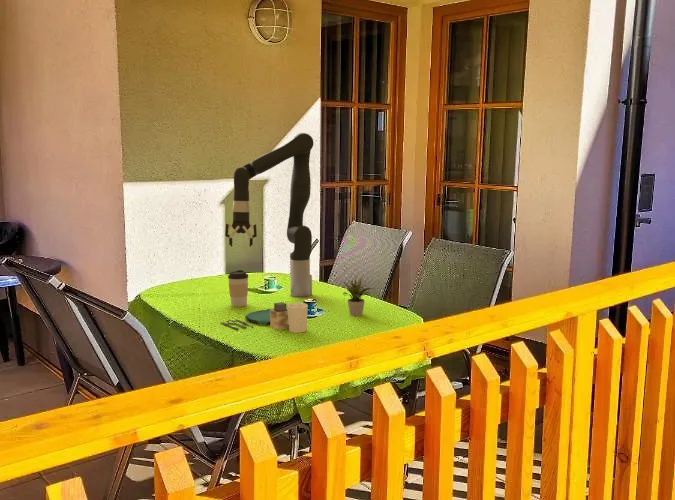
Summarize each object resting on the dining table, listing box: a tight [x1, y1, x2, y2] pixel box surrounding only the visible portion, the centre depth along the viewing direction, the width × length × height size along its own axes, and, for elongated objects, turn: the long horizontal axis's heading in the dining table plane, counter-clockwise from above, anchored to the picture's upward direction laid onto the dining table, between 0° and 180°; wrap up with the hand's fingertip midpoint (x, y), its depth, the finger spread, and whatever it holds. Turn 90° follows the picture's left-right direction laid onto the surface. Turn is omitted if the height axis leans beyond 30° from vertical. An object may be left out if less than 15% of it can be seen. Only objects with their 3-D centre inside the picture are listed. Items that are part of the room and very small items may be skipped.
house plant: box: [341, 277, 374, 317], centre depth 291 cm, size 14×14×16 cm
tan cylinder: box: [287, 302, 309, 334], centre depth 269 cm, size 8×8×10 cm
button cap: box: [273, 301, 288, 311], centre depth 274 cm, size 4×4×2 cm
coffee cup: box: [227, 269, 249, 307], centre depth 310 cm, size 9×9×15 cm
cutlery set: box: [219, 308, 273, 331], centre depth 285 cm, size 20×30×2 cm, turn 125°
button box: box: [269, 308, 289, 331], centre depth 274 cm, size 6×6×7 cm
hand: (240, 246), depth 320 cm, fingers open, 8 cm apart
